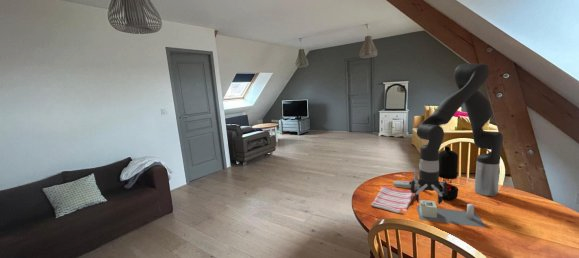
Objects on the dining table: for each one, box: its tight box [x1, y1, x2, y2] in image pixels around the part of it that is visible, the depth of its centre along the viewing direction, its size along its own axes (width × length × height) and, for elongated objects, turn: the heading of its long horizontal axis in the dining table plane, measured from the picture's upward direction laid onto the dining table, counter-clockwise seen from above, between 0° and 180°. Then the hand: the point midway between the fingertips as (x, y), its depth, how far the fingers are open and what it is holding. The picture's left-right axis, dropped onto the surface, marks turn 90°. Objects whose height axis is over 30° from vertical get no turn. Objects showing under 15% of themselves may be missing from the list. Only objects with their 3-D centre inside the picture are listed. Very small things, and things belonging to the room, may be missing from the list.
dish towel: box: [370, 185, 415, 215], centre depth 124 cm, size 17×23×4 cm
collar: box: [419, 199, 438, 218], centre depth 108 cm, size 6×6×5 cm
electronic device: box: [392, 171, 419, 190], centre depth 139 cm, size 5×10×15 cm
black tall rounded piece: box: [437, 146, 459, 201], centre depth 118 cm, size 14×9×30 cm
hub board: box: [415, 199, 488, 228], centre depth 105 cm, size 24×12×8 cm, turn 69°
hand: (428, 202), depth 107 cm, fingers open, 8 cm apart
